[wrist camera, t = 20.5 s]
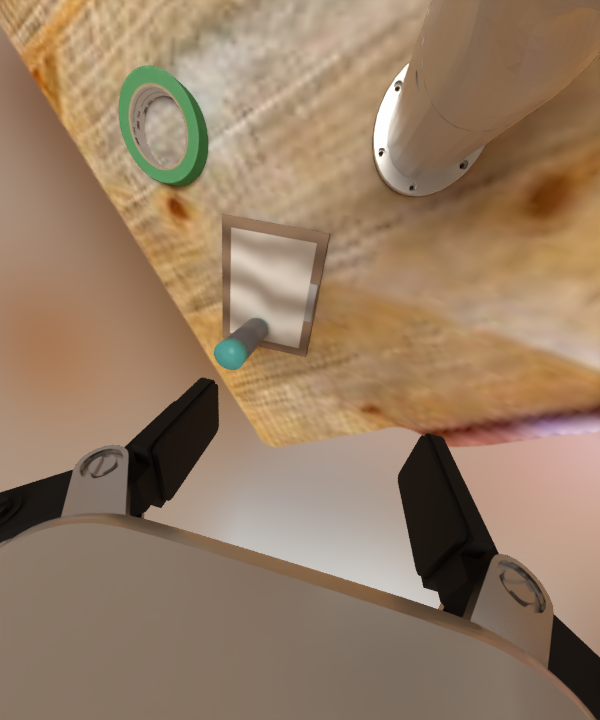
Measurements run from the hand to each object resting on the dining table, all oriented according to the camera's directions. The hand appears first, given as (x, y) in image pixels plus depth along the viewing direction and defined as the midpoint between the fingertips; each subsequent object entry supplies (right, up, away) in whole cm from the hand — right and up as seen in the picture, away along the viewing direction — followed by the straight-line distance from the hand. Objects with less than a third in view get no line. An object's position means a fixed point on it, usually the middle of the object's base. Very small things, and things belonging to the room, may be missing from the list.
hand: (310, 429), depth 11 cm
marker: (-8, +9, +30) cm, 32 cm away
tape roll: (-18, +34, +21) cm, 44 cm away
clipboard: (-6, +15, +28) cm, 32 cm away
